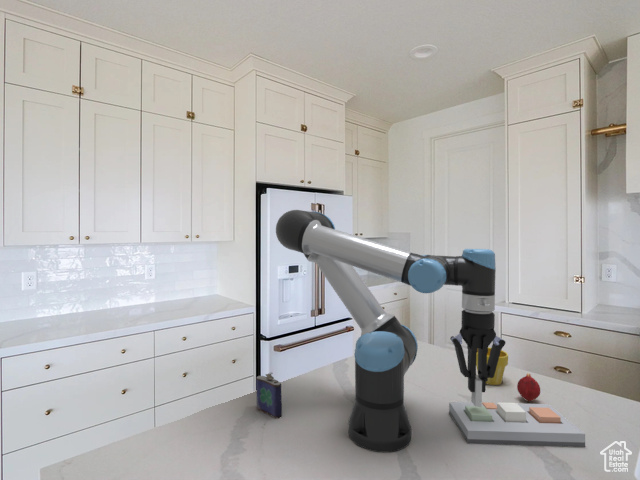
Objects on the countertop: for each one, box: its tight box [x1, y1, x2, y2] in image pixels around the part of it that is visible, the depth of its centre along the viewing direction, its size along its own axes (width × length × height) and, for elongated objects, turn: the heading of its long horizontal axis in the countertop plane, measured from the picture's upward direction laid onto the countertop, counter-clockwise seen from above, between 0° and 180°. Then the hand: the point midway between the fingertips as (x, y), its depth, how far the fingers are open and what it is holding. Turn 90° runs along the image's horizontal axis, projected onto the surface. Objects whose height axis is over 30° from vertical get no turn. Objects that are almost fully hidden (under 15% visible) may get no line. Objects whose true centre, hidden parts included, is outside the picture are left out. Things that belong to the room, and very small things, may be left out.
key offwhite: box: [496, 402, 526, 423], centre depth 87 cm, size 5×5×3 cm
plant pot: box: [476, 346, 509, 386], centre depth 115 cm, size 10×10×10 cm
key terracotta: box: [529, 407, 561, 424], centre depth 86 cm, size 5×5×3 cm
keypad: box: [448, 401, 586, 448], centre depth 87 cm, size 26×14×3 cm, turn 87°
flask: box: [255, 372, 283, 419], centre depth 96 cm, size 9×3×11 cm, turn 50°
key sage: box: [465, 406, 492, 422], centre depth 87 cm, size 5×5×3 cm
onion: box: [516, 372, 541, 402], centre depth 101 cm, size 6×6×8 cm
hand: (476, 404), depth 88 cm, fingers closed
